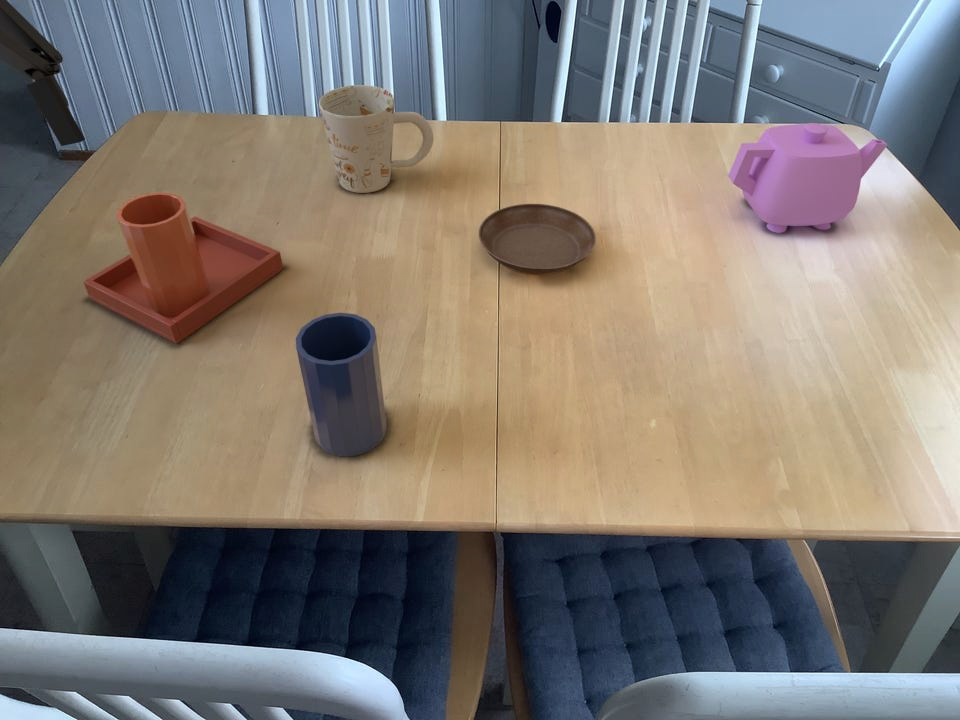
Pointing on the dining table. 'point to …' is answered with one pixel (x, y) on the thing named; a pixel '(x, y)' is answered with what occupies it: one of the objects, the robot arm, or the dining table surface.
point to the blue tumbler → (342, 383)
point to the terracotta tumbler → (164, 252)
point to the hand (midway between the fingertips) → (28, 169)
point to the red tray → (227, 267)
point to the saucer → (537, 238)
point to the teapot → (802, 174)
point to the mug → (366, 135)
